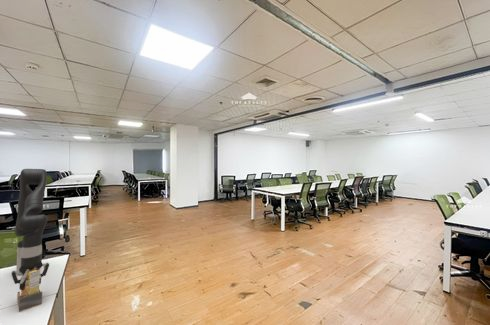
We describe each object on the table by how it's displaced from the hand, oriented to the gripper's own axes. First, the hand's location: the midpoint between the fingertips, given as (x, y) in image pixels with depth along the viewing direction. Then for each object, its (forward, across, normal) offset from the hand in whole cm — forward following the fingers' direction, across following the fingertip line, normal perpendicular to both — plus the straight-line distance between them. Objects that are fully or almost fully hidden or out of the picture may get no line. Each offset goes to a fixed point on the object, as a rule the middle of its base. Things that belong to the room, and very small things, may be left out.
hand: (30, 287), depth 107 cm
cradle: (+8, 0, -2) cm, 8 cm away
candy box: (+6, 0, 0) cm, 6 cm away
